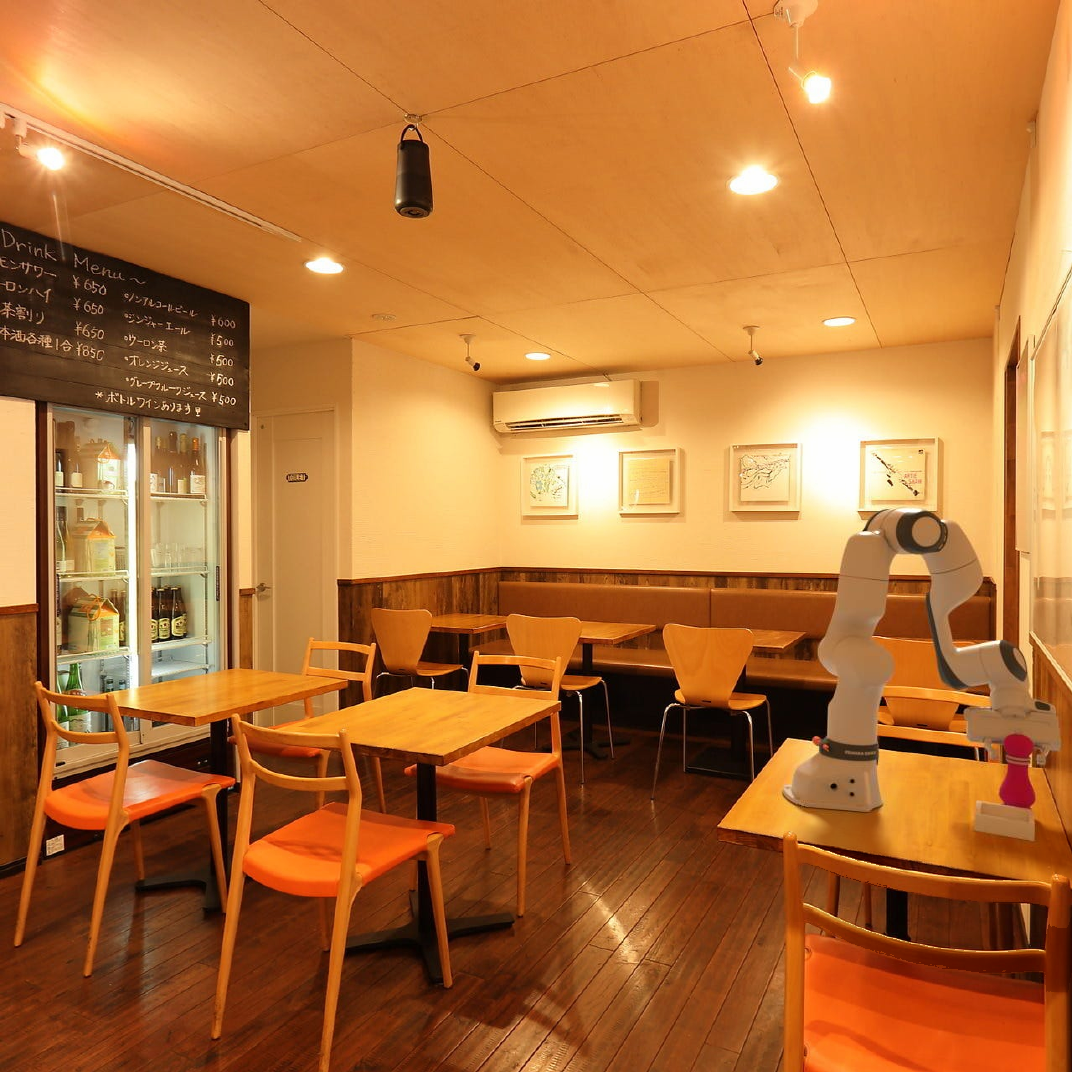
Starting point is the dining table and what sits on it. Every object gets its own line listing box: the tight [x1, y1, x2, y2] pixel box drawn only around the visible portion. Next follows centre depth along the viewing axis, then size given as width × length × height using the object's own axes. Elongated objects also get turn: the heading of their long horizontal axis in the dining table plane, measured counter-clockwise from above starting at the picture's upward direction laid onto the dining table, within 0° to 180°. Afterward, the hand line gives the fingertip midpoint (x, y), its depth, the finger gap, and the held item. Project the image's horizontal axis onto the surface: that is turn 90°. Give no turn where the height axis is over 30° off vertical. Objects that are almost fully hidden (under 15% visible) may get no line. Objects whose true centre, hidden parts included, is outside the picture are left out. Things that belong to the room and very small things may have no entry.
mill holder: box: [974, 800, 1036, 842], centre depth 177 cm, size 11×11×4 cm
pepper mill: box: [998, 727, 1036, 810], centre depth 186 cm, size 7×7×20 cm
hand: (1017, 760), depth 187 cm, fingers open, 8 cm apart
